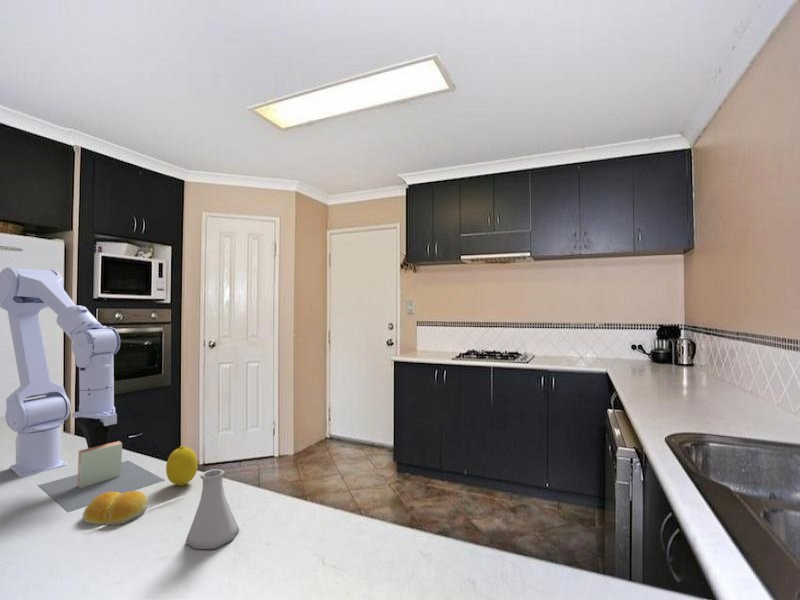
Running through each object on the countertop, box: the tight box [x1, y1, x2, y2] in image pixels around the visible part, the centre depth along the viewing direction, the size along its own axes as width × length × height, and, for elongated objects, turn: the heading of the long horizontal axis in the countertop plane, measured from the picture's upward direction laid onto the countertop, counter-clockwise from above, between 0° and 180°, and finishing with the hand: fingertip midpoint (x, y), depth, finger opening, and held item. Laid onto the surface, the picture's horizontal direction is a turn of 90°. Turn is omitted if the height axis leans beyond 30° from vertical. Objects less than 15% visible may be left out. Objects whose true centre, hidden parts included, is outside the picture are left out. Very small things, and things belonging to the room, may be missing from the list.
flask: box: [185, 468, 240, 550], centre depth 66 cm, size 7×7×10 cm
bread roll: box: [82, 490, 148, 527], centre depth 73 cm, size 8×9×4 cm
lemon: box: [165, 445, 199, 487], centre depth 84 cm, size 6×6×8 cm
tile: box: [77, 440, 123, 488], centre depth 85 cm, size 2×7×7 cm, turn 143°
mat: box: [37, 460, 165, 513], centre depth 85 cm, size 18×16×1 cm
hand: (97, 454), depth 86 cm, fingers closed
